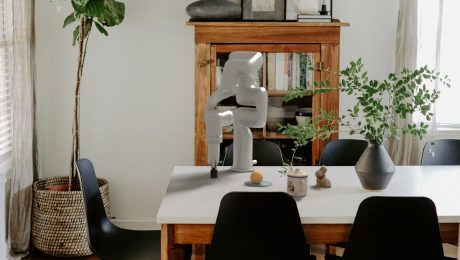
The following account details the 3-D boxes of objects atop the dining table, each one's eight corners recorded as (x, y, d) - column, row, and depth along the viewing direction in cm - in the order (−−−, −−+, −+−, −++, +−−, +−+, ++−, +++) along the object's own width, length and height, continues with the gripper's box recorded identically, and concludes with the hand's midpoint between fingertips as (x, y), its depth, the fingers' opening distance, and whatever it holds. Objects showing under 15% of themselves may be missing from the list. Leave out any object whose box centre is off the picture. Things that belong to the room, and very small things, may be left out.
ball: (250, 176, 323) (261, 169, 322) (256, 187, 321) (267, 180, 320) (246, 174, 318) (256, 167, 317) (251, 184, 316) (262, 177, 314)
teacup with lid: (283, 192, 303) (283, 166, 301) (302, 191, 305) (303, 165, 304) (294, 199, 291) (294, 171, 290) (313, 197, 294) (314, 170, 292)
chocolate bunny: (324, 183, 322) (324, 162, 320) (332, 187, 314) (333, 165, 313) (313, 184, 320) (314, 163, 318) (322, 188, 312) (323, 166, 311)
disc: (255, 179, 329) (255, 178, 329) (278, 183, 321) (278, 182, 321) (238, 183, 318) (239, 183, 318) (262, 188, 311) (262, 187, 310)
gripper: (207, 136, 325) (206, 174, 328) (204, 141, 310) (204, 181, 313) (222, 136, 325) (222, 174, 328) (221, 142, 310) (221, 181, 313)
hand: (214, 177), depth 320 cm, fingers closed
